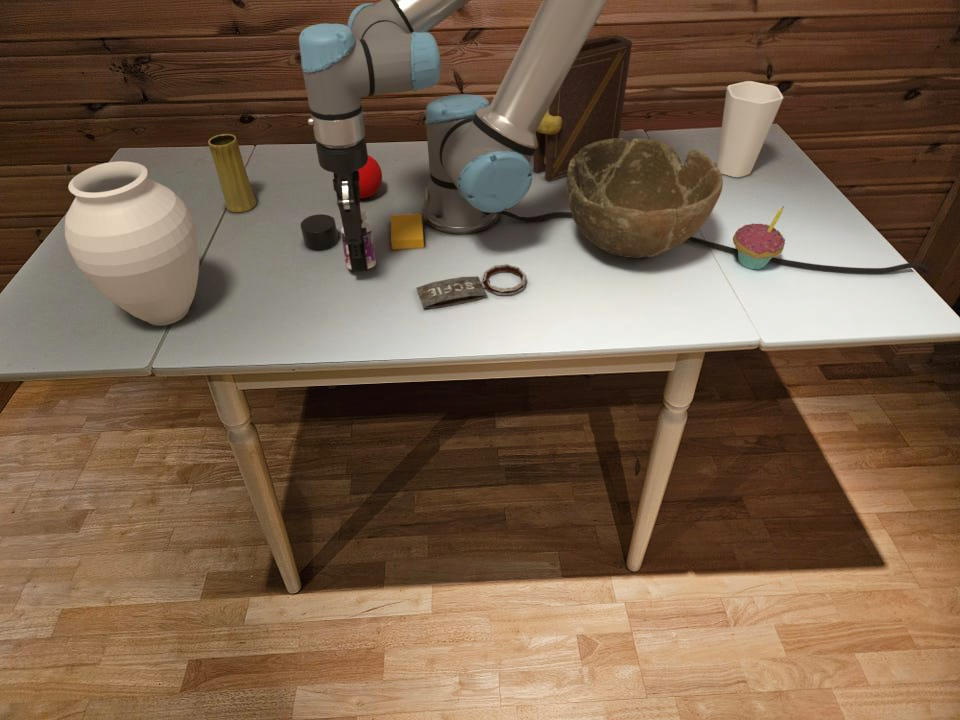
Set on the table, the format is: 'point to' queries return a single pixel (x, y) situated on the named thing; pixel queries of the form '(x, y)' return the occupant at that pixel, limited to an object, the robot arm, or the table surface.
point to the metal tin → (319, 232)
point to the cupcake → (758, 243)
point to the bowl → (640, 195)
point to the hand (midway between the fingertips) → (359, 269)
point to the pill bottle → (367, 241)
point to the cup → (746, 125)
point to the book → (584, 105)
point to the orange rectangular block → (407, 231)
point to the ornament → (369, 178)
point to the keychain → (466, 288)
